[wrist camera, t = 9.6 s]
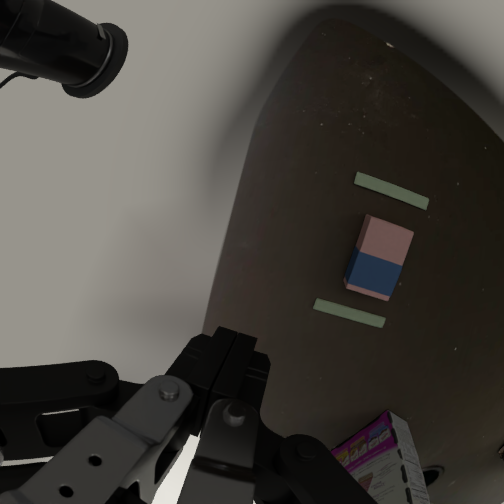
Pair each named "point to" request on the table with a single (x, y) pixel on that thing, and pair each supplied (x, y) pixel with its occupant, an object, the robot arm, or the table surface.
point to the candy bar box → (385, 461)
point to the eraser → (377, 258)
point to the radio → (502, 453)
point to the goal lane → (392, 192)
